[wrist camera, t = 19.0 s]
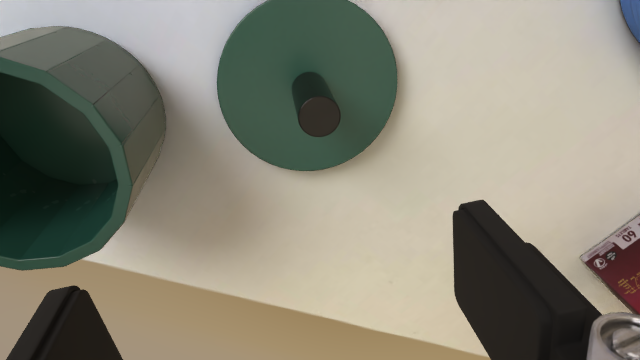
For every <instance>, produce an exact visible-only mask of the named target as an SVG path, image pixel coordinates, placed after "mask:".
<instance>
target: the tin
mask: <svg viewBox="0 0 640 360" xmlns="http://www.w3.org/2000/svg"><path fill="white" fill-rule="evenodd" d="M165 130H166V118H165V110H164V106H163V102H162V98H161V96H160V94H159V91H158V89H157V87H156V85H155V83H154V81H153V80H152V78H151V77H150V75H149V74H148V72H147V71H146V70H145V68H144V67H143V66H142V65H141V64H140V63H139V62H138V61H137V60H136V59H135V58H134V57H133V56H132V55H131V54H130V53H128V52H127V51H126V50H125V49H123V48H122V47H120V46H119V45H117V44H116V43H114V42H112V41H111V40H109V39H107V38H105V37H103V36H100V35H98V34H95V33H93V32H90V31H86V30H82V29H79V28H72V27H63V26H51V27H42V28H30V29H27V30H23V31H20V32H17V33H13V34H10V35H6V36H3V37H0V266H1V267H6V268H12V269H17V270H33V269H43V268H55V267H64V266H67V265H69V264H71V263H73V262H76V261H78V260H80V259H82V258H84V257H86V256H89V255H91V254H93V253H95V252H97V251H99V250H100V249H102V248H103V247H104V245H105V244H106V243H107V242H108V241H109V240H110V238H111V237H112V236H113V235H114V234H115V233H116V231H117V230H118V229H119V228H120V227H121V226H122V225H123V223H124V222H125V220H126V218H127V216H128V214H129V212H130V210H131V208H132V207H133V205H134V203H135V201H136V199H137V197H138V195H139V193H140V191H141V189H142V187H143V185H144V184H145V182H146V180H147V178H148V176H149V174H150V172H151V170H152V168H153V166H154V164H155V162H156V161H157V159H158V157H159V154H160V150H161V147H162V144H163V141H164V136H165Z"/></svg>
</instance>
